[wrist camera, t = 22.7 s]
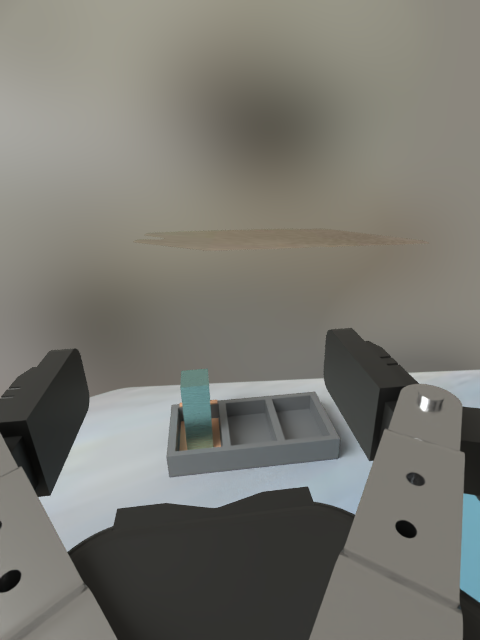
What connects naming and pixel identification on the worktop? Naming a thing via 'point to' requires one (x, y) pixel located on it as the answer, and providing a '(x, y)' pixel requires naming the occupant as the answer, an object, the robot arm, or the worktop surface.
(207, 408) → the brushed teal metal block
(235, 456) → the slot rack
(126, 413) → the worktop surface
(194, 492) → the worktop surface
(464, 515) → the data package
